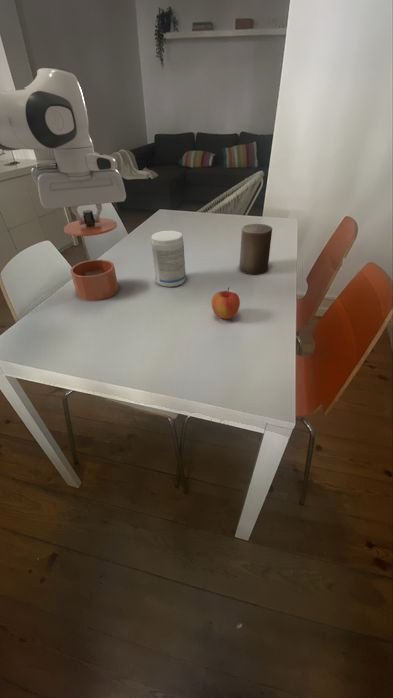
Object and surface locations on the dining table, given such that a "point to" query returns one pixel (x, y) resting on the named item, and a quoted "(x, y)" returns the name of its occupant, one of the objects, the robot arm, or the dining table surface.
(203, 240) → the dining table surface
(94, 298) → the bowl
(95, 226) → the bowl lid
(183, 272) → the supplement tub
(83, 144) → the robot arm
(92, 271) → the block
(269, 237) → the pillar candle
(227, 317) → the apple
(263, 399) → the dining table surface
